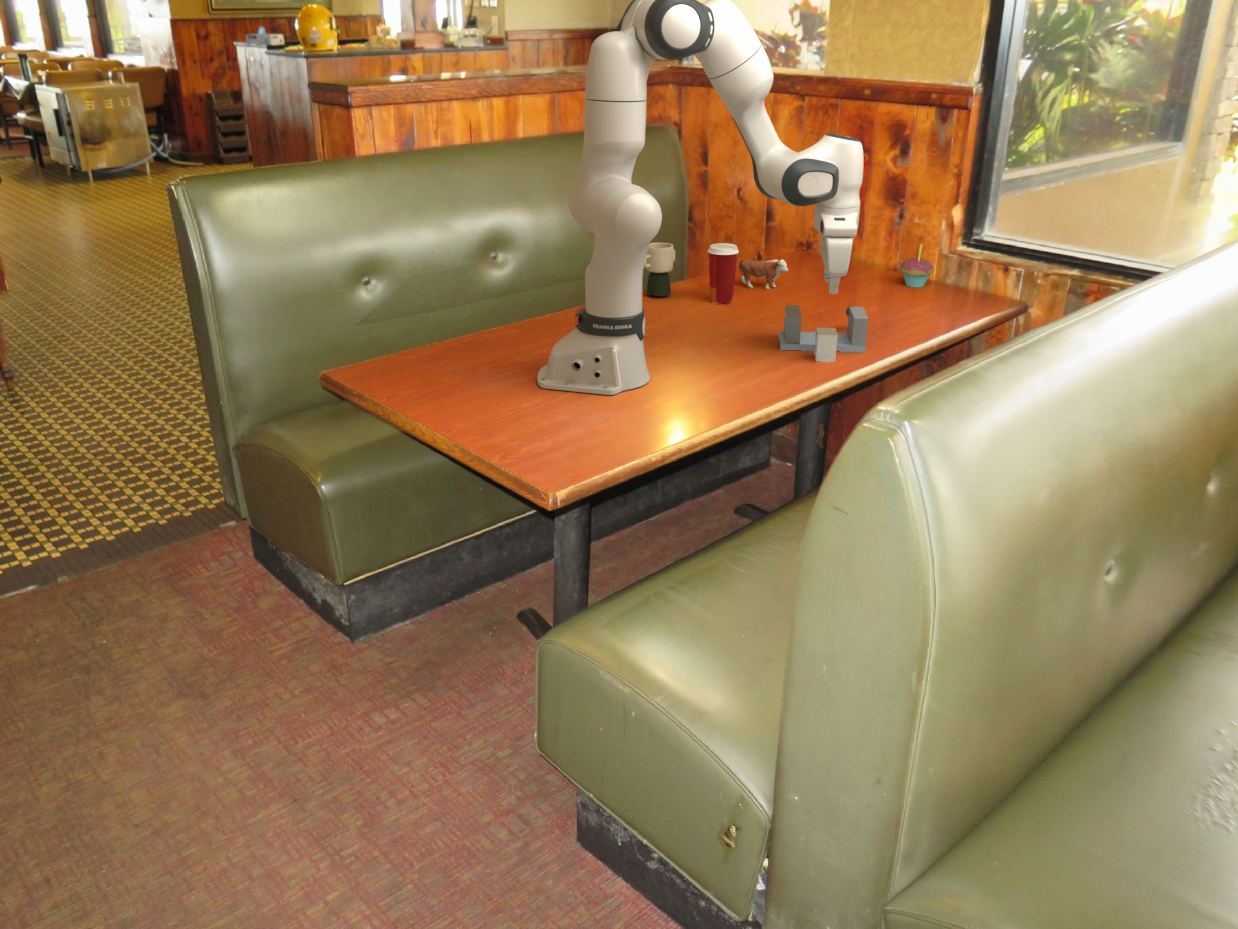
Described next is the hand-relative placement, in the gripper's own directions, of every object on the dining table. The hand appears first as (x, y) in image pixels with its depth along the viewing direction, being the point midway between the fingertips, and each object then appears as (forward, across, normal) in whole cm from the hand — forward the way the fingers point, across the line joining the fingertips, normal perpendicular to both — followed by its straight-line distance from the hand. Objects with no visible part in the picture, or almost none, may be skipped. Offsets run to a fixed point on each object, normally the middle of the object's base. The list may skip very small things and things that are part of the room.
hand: (830, 287), depth 205 cm
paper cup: (+15, -42, -22) cm, 50 cm away
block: (+15, 0, 0) cm, 15 cm away
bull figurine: (+16, -56, -11) cm, 60 cm away
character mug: (+15, -47, -38) cm, 62 cm away
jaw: (+14, -9, -6) cm, 18 cm away
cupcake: (+16, -62, +29) cm, 71 cm away
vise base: (+15, -13, 0) cm, 20 cm away
